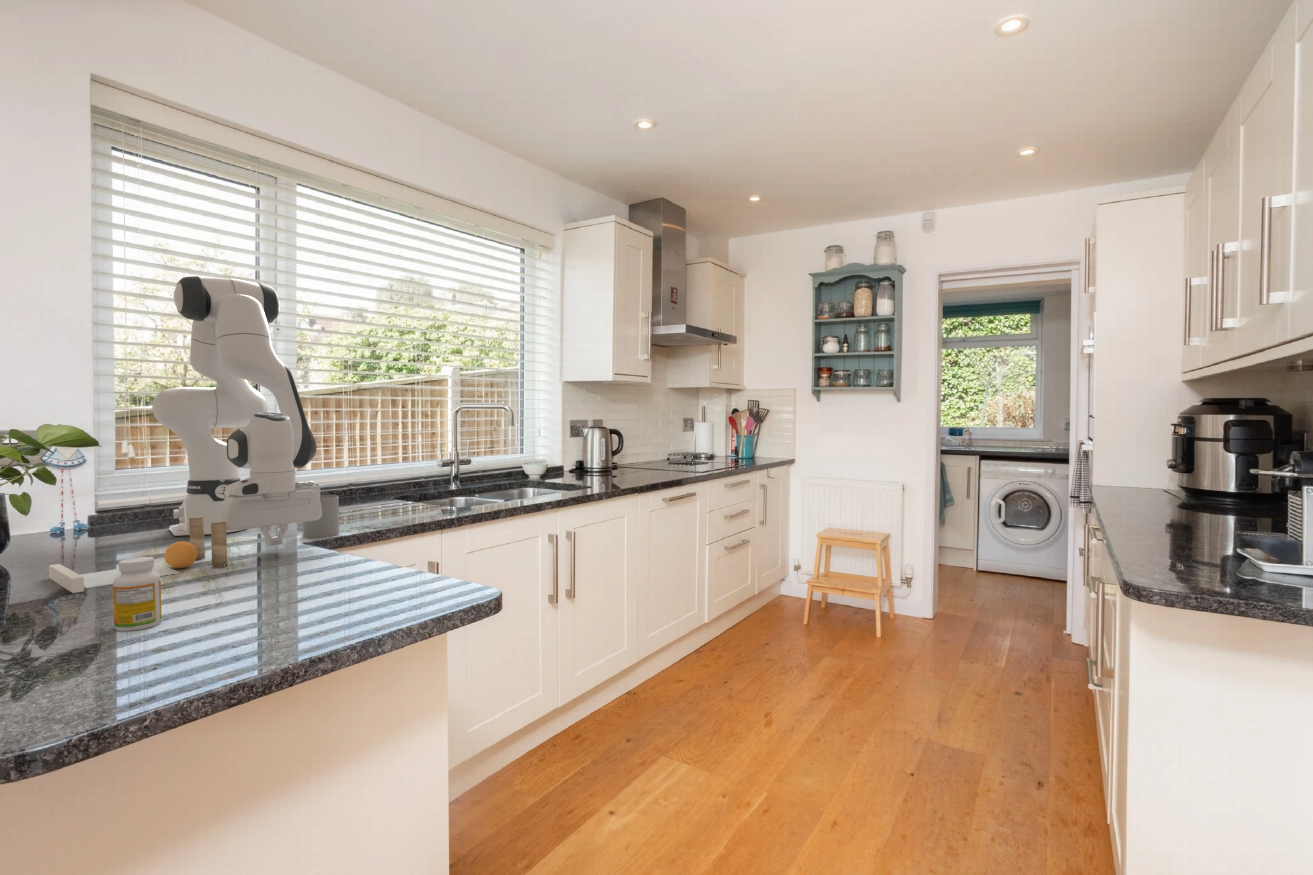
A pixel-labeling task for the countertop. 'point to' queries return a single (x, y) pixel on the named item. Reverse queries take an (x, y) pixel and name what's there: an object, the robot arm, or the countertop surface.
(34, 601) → the countertop surface
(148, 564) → the supplement bottle
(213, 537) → the post
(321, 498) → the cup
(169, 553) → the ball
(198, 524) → the post
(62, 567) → the wall
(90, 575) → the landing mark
